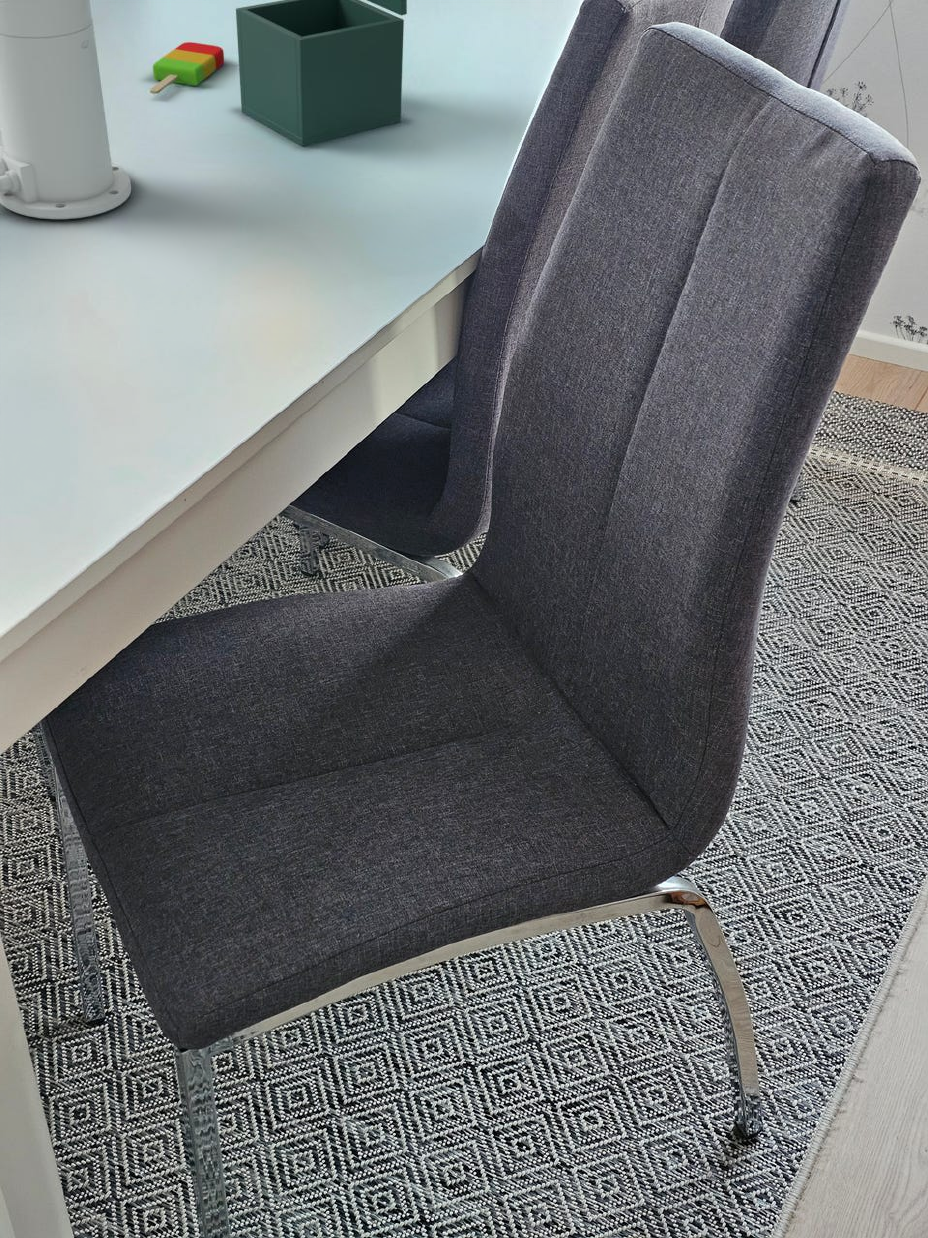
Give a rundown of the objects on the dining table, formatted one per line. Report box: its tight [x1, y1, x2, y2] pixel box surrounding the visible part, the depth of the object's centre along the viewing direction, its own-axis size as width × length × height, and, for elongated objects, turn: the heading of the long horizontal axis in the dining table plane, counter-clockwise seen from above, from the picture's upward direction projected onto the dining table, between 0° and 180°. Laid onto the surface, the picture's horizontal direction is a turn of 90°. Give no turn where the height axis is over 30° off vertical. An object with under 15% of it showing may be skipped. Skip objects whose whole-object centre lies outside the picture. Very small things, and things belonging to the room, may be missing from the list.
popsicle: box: [149, 41, 225, 95], centre depth 140 cm, size 6×15×2 cm, turn 166°
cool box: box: [235, 0, 405, 147], centre depth 131 cm, size 14×12×11 cm
